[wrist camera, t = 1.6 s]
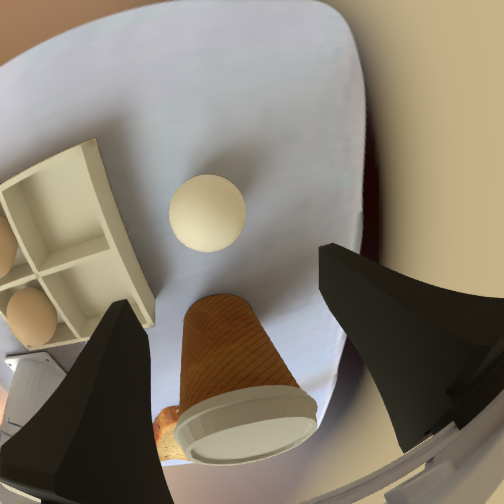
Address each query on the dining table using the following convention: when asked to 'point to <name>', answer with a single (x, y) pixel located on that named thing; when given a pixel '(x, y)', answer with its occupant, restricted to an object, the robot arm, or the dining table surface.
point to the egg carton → (72, 244)
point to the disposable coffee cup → (236, 388)
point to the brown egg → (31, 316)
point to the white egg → (207, 213)
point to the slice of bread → (167, 434)
